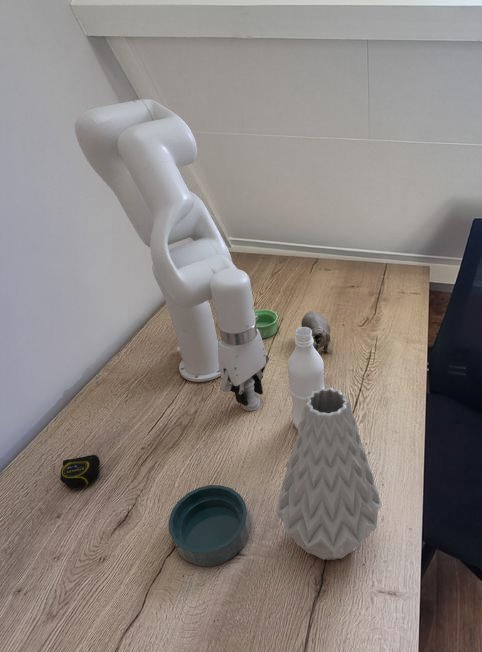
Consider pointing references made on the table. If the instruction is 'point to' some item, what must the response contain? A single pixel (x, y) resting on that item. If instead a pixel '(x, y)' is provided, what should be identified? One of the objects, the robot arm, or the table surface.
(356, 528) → the vase
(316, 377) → the water bottle
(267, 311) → the ramekin
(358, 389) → the table surface
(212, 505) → the bowl
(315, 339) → the rhinoceros figurine
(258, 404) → the rook chess piece
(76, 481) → the tape measure
